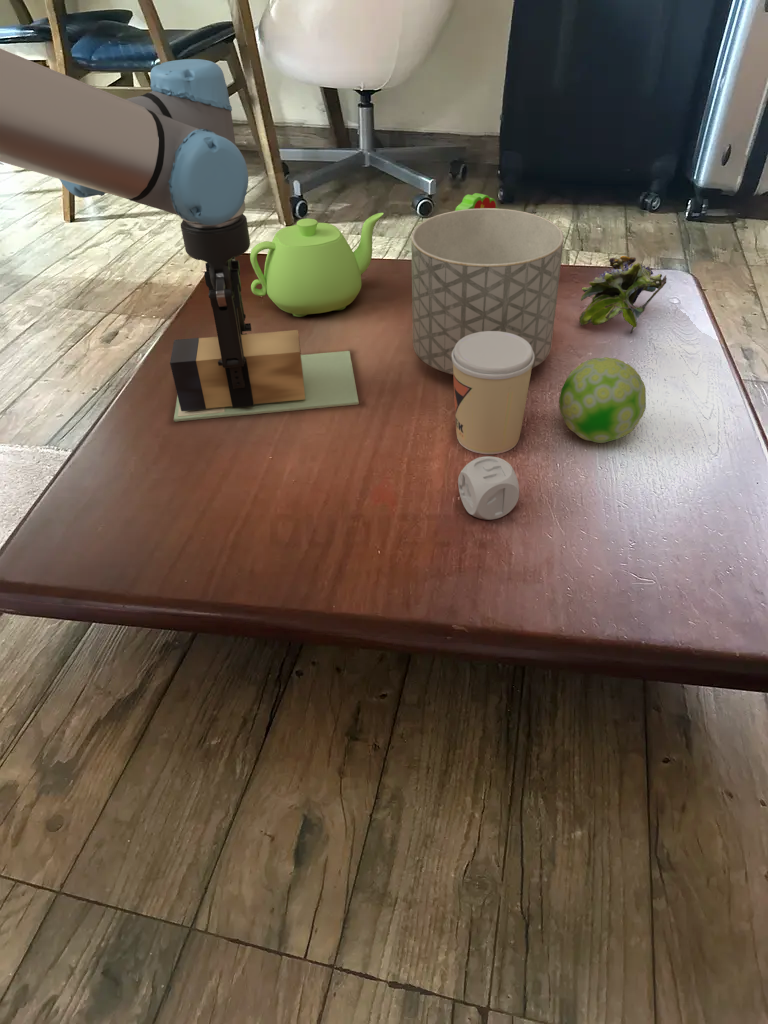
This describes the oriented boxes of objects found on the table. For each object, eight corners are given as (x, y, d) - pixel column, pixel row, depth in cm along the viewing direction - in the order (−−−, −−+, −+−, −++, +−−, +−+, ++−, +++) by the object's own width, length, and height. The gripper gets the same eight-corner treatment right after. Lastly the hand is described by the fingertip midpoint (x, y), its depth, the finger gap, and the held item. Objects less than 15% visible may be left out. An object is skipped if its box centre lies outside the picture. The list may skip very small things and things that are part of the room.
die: (475, 525, 83) (477, 488, 80) (457, 497, 87) (458, 461, 84) (518, 513, 85) (521, 477, 81) (497, 487, 88) (500, 451, 85)
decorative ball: (609, 406, 100) (622, 335, 94) (654, 448, 93) (671, 375, 86) (540, 422, 98) (548, 351, 91) (580, 467, 91) (592, 392, 84)
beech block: (303, 376, 107) (298, 329, 102) (305, 400, 102) (299, 351, 98) (184, 387, 106) (174, 339, 101) (181, 411, 101) (169, 362, 96)
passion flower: (608, 342, 124) (652, 273, 120) (644, 362, 115) (694, 288, 111) (555, 310, 119) (600, 237, 115) (589, 329, 110) (638, 250, 106)
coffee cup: (452, 413, 100) (454, 328, 92) (526, 417, 99) (534, 330, 91) (446, 456, 93) (448, 367, 85) (526, 461, 92) (535, 371, 84)
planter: (572, 351, 111) (589, 224, 99) (506, 413, 100) (517, 277, 88) (458, 319, 120) (462, 199, 108) (386, 372, 109) (381, 244, 97)
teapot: (373, 272, 134) (370, 195, 126) (400, 309, 123) (398, 226, 115) (246, 293, 130) (234, 213, 121) (263, 332, 119) (250, 248, 110)
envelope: (174, 421, 101) (173, 418, 101) (182, 367, 111) (181, 364, 111) (358, 404, 103) (358, 401, 102) (349, 353, 113) (349, 349, 113)
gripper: (185, 192, 96) (218, 359, 111) (172, 251, 81) (211, 434, 96) (247, 187, 96) (271, 354, 111) (244, 245, 82) (272, 428, 97)
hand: (243, 391), depth 104 cm, fingers closed on beech block, 6 cm apart
